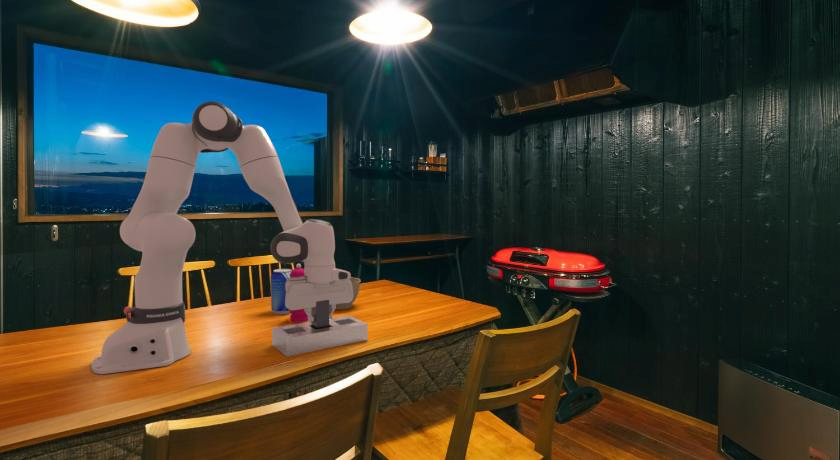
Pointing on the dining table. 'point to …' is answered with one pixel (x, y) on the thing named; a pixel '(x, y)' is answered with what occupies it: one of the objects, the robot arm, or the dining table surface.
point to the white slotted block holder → (318, 335)
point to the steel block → (320, 315)
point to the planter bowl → (355, 292)
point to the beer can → (279, 291)
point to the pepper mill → (299, 314)
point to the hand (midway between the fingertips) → (320, 320)
